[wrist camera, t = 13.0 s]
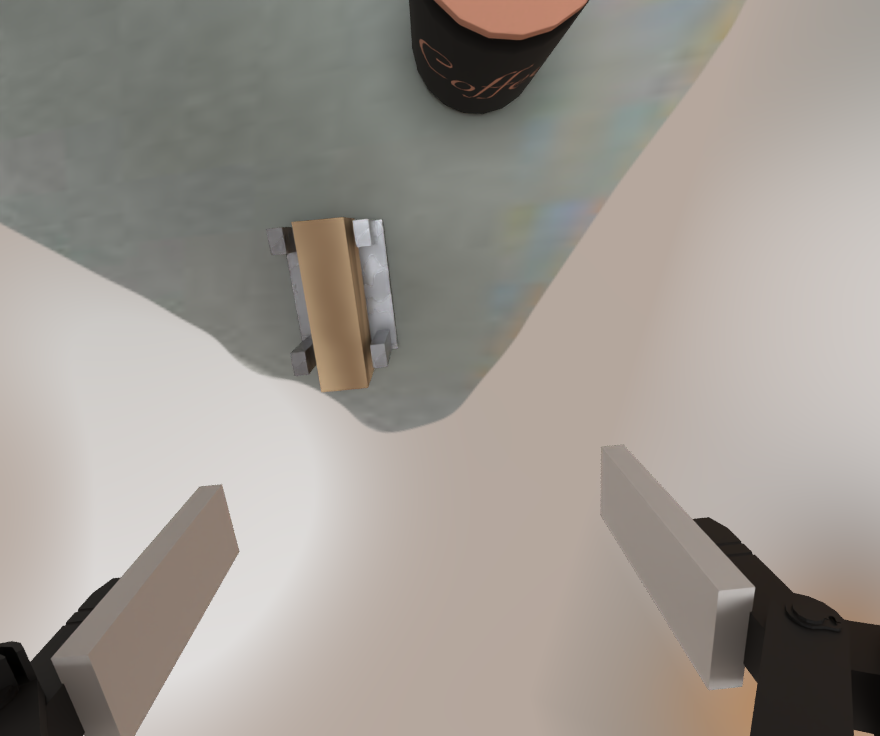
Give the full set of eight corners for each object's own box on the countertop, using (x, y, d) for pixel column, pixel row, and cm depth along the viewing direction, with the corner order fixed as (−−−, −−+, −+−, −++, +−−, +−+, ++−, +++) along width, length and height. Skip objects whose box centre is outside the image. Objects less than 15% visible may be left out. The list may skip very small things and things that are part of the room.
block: (334, 371, 46) (321, 392, 40) (309, 222, 41) (291, 222, 36) (374, 367, 46) (368, 387, 40) (354, 218, 41) (343, 217, 36)
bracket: (307, 354, 46) (288, 376, 39) (284, 229, 42) (259, 229, 36) (398, 345, 46) (393, 366, 39) (382, 219, 43) (374, 218, 36)
